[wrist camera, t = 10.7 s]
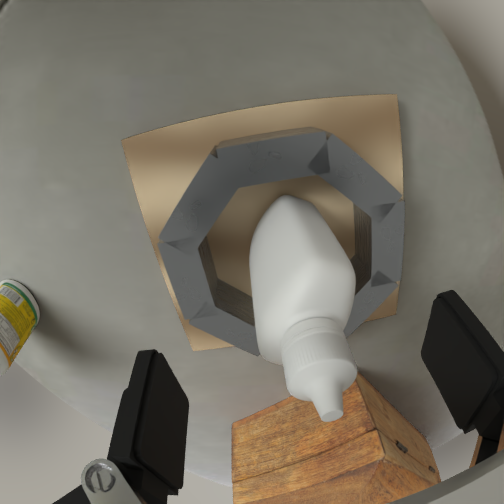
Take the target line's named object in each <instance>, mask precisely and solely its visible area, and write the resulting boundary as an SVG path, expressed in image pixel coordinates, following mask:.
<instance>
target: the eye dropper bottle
mask: <svg viewBox="0 0 504 504" xmlns="http://www.w3.org/2000/svg"><path fill="white" fill-rule="evenodd" d="M249 267H250V278H251V288H252V299H253V309H254V318H255V328H256V336H257V343H258V348H259V352H260V354H261V355H262V357H263V358H264V359H265V360H267V361H269V362H271V363H274V364H279V365H283V368H284V374H285V380H286V385H287V389H288V391H289V393H290V394H291V395H292V396H294V397H295V398H297V399H300V400H303V401H312V402H313V403H314V405H315V408H316V410H317V412H318V414H319V416H320V418H321V420H322V421H324V422H331V421H335V420H337V419H339V418H341V417H342V416H343V397H342V392H344V391H345V390H346V389H348V388H349V387H350V386H351V385H352V383H353V382H354V380H355V379H356V376H357V372H358V371H357V370H358V369H357V365H356V363H355V360H354V358H353V355H352V352H351V350H350V347H349V345H348V342H347V340H346V337H345V335H344V332H343V330H344V328H345V326H346V324H347V322H348V319H349V316H350V313H351V310H352V306H353V301H354V296H355V286H356V277H355V272H354V269H353V266H352V264H351V262H350V260H349V258H348V257H347V255H346V253H345V251H344V250H343V248H342V246H341V245H340V243H339V242H338V240H337V238H336V237H335V235H334V234H333V232H332V231H331V229H330V228H329V226H328V224H327V223H326V221H325V220H324V218H323V217H322V215H321V214H320V212H319V211H318V209H317V208H316V207H315V205H313V204H312V203H311V202H308V201H306V200H303V199H300V198H297V197H294V196H291V195H283V196H280V197H279V198H277V199H276V200H275V201H274V202H273V203H272V204H271V205H270V207H269V208H268V209H267V210H266V212H265V213H264V214H263V216H262V217H261V219H260V221H259V223H258V225H257V227H256V229H255V231H254V234H253V237H252V241H251V246H250V254H249Z"/></svg>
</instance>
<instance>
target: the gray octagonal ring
mask: <svg viewBox="0 0 504 504" xmlns="http://www.w3.org/2000/svg"><path fill="white" fill-rule="evenodd" d="M312 175H319V176H320V177H321V178H322V179H324V180H325V181H326V182H328V183H329V184H330V185H332V186H333V187H334V188H335V189H337V190H338V191H339V192H341V193H342V194H343V195H344V196H346V197H347V198H348V199H349V200H351V201H352V202H353V210H354V230H355V255H354V256H353V257H352V258H351V259H350V262H351V264H352V266H353V269H354V272H355V277H356V286H355V296H354V301H353V306H352V310H351V313H350V316H349V319H348V322H347V324H346V326H345V328H344V330H343V332H344V335H345V337H346V338H347V337H348V336H349V335H350V334H352V333H353V332H354V331H355V330H356V329H357V328H358V327H359V326H360V325H361V324H362V323H363V322H364V321H365V320H366V319H367V318H368V317H369V316H370V315H371V314H372V313H373V312H374V311H375V310H376V309H377V308H378V307H379V306H380V305H381V304H382V303H383V302H384V301H385V299H386V298H387V297H388V296H389V295H390V294H391V293H392V292H393V291H394V290H395V289H396V288H397V287H398V286H399V285H398V284H397V283H396V282H397V281H401V274H402V261H403V245H404V219H405V201H404V200H403V199H401V197H402V194H401V193H400V192H399V191H397V190H396V189H395V188H394V187H393V186H392V185H391V184H390V183H389V182H388V181H387V180H386V179H385V178H384V177H383V176H382V175H380V174H379V173H378V172H377V171H376V170H375V169H374V168H373V167H372V166H370V165H369V164H368V163H367V162H366V161H365V160H364V159H363V158H361V157H360V156H359V155H358V154H357V153H356V152H354V151H353V150H352V149H351V148H350V147H348V146H347V145H346V144H345V143H344V142H342V141H341V140H340V139H339V138H338V137H336V136H335V135H334V134H333V133H330V132H327V131H324V130H322V129H319V128H315V127H312V126H309V127H302V128H294V129H287V130H281V131H274V132H268V133H262V134H256V135H250V136H245V137H240V138H234V139H229V140H224V141H220V143H219V145H218V146H216V145H215V146H214V147H213V149H212V150H211V152H210V153H209V155H208V156H207V158H206V159H205V161H204V162H203V164H202V165H201V167H200V168H199V170H198V172H197V173H196V175H195V176H194V178H193V179H192V181H191V183H190V184H189V186H188V187H187V189H186V191H185V192H184V194H183V195H182V197H181V199H180V200H179V202H178V204H177V205H176V207H175V209H174V210H173V212H172V214H171V215H170V217H169V219H168V221H167V222H166V224H165V226H164V228H163V229H162V231H161V233H160V235H159V236H158V238H159V239H160V240H159V242H158V243H157V245H158V248H159V251H160V254H161V257H162V260H163V263H164V266H165V268H166V271H167V274H168V277H169V280H170V282H171V285H172V288H173V290H174V293H175V296H176V298H177V301H178V304H179V306H180V309H181V311H182V314H183V317H184V319H185V320H187V319H189V324H190V325H192V326H194V327H196V328H198V329H200V330H202V331H204V332H206V333H208V334H210V335H212V336H215V337H217V338H219V339H221V340H223V341H225V342H227V343H229V344H231V345H234V346H236V347H238V348H240V349H242V350H245V351H247V352H249V353H251V354H253V355H256V356H259V355H260V352H259V348H258V343H257V336H256V328H255V318H254V309H253V299H252V297H251V296H249V295H248V294H246V293H244V292H242V291H240V290H238V289H237V288H235V287H233V286H231V285H229V284H228V283H226V282H224V281H222V280H220V279H219V278H218V276H217V273H216V269H215V265H214V262H213V258H212V254H211V251H210V247H209V243H208V239H207V236H206V235H207V233H208V232H209V230H210V229H211V227H212V226H213V224H214V223H215V221H216V220H217V218H218V217H219V215H220V214H221V213H222V211H223V210H224V208H225V207H226V205H227V204H228V202H229V201H230V200H231V198H232V197H233V195H234V194H235V192H236V191H237V190H238V188H241V187H247V186H252V185H258V184H263V183H269V182H275V181H281V180H287V179H293V178H299V177H306V176H312Z"/></svg>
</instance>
